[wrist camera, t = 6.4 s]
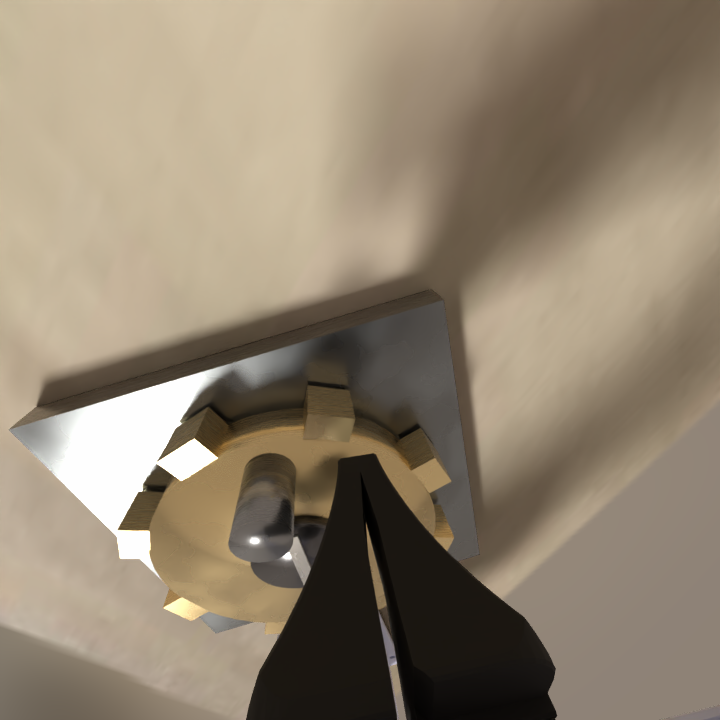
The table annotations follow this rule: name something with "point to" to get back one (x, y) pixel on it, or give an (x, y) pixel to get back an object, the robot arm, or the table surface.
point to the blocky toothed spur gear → (266, 504)
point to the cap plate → (265, 408)
